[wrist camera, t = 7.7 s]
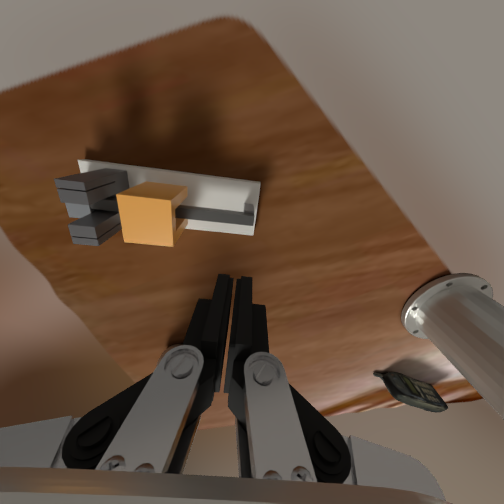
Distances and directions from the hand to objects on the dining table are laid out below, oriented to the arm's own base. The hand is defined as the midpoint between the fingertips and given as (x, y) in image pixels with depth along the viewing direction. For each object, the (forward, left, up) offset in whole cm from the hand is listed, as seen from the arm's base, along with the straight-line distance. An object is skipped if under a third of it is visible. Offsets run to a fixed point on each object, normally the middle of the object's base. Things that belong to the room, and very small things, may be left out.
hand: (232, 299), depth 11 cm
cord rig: (+7, 0, -16) cm, 17 cm away
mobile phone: (-36, +31, -16) cm, 50 cm away
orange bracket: (+7, 0, -14) cm, 15 cm away
